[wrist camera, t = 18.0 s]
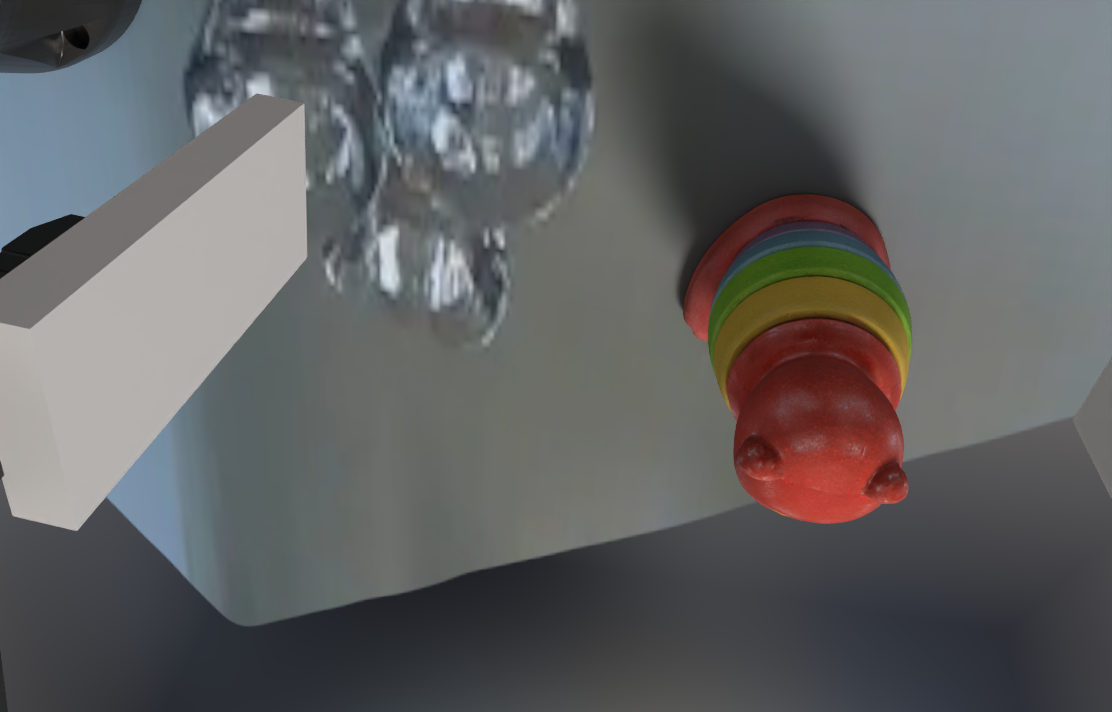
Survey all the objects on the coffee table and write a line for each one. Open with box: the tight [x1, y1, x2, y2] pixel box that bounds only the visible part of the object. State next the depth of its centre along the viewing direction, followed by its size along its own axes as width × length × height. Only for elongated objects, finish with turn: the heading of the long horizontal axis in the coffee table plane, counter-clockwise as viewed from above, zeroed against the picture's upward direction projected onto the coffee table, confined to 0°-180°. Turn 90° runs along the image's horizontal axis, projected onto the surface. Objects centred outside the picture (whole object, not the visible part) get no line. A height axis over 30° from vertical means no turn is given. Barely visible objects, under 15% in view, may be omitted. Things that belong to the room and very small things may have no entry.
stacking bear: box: [683, 194, 912, 523], centre depth 42 cm, size 11×10×18 cm
